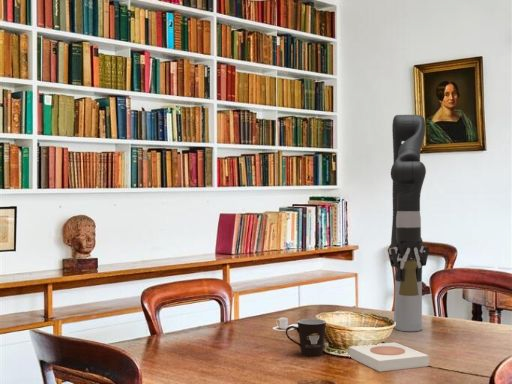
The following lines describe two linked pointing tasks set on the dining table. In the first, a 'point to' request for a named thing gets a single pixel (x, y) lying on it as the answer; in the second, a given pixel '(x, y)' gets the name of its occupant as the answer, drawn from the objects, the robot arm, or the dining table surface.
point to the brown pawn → (409, 279)
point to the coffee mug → (310, 336)
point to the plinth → (388, 356)
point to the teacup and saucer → (284, 324)
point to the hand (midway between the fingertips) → (408, 280)
